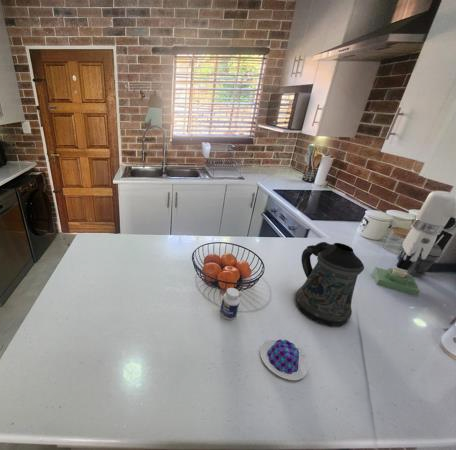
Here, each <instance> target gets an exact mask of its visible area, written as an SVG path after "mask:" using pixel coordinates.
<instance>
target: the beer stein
mask: <svg viewBox="0 0 456 450" xmlns="http://www.w3.org/2000/svg"><path fill="white" fill-rule="evenodd" d="M312 255H313V256H315V257H317V262H316V264H315V265H314V267H313V266H312V262H311V257H312ZM300 260H301V265H302V270H303V272H304V274H305V277H306V280H305V282H304V283H303V284H302V285H301V286H300V287H299V288H298V289H297V290H296V292H295V299H294V300H295V306H296V308H297V309H298V311H299V312H300V313H302V315H304V316H305V317H306V318H308V319H309V320H310V321H312V322H314V323H317V324H319V325H323V326H327V327H341V326H343V325H344V324H346V323H348V320H349V319H350V318H351V316H352V314H353V310H352V300H353V295H354V290H355V286H356V284H357V279H358V276H359V275H360V274H361V273H362V272H364V270H365V265H364V263H363V261H362V260H361V259H360V258H359V257H358V256H357V255H356V254H355V252H354V249H353V248H352V247H351V246H350V245H347V244H345V243H341V242H333V244H330V243H329V242H326V241H320V242H318V243H316V244H311V245H307V246H306V247H305V249H304V250H303V251H302V254H301V259H300Z"/></svg>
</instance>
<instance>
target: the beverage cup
mask: <svg viewBox="0 0 456 450" xmlns="http://www.w3.org/2000/svg"><path fill="white" fill-rule="evenodd" d="M444 237H445V235H444V234H442V235H441V236H440V237H439V239H438V240H437V241H435V243H434V245H433V247H432V248H431V250H430V252H429V254H428V256H427V257H426V259H424V260H423V259H421V257H420V256H419V257H418V259H417V261H416V262H413V263H412V264H411V266H410V267H409V269H408V270H406V272H407V275H409V276H411V277H413V278H417V277H418V278H419V279H420V278H422V277H423V275H425V273H426V272H428V270H429V269H430V267H432V266H433V264H434V263H435V262H436V261H437V260H438V259H439V258H440V257H441V255H442V248H441V247H440V246H439V242H440V241H441V240H442V239H443V238H444ZM418 278H417V279H418Z"/></svg>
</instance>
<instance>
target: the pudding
mask: <svg viewBox="0 0 456 450" xmlns="http://www.w3.org/2000/svg"><path fill="white" fill-rule="evenodd" d="M259 355H260V357H261V360H262V362H263V364H264V365H265V366H266V367H267V368H268V369H269V370H270V371H271V372H272V373H273V374H275V375H276V376H278V377H280V378H282V379H285V380H289V381H299V380H302V379H303V378H305V377H306V375H307V373H308V364H307V362H306V360H305V358H304V356H303V355H302V353H301V352H300V351H299V349H298V347H296V345H295V344H294V343H293V342H290V341H289V340H287V339H269V340H266V341H264V342H262V344H261V345H260V349H259Z"/></svg>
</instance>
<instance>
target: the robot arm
mask: <svg viewBox="0 0 456 450" xmlns="http://www.w3.org/2000/svg"><path fill="white" fill-rule="evenodd" d="M451 218H453V219H456V193H454V192H450V191H445V190H433V191H431V192H430V193H429V194H428V195H427V197H426V199H425V201H424V202H423V204H422V206H421V208H420V209H419V211H418V213H417V214H416V216H415V217H414V219H413V222H412V223H411V225H410V227H411V229H410V230H409V231H408V233H407V235H406V237H405V238H404V240H403V242H402V248H403V251H402V254H401V257H399V259H398V261H397V263H396V264H395V266H396V268H400V269H403V270H405V271H408V269H409V267H410V266H411V264H412V263H413V262H416V261H417V259H418V257H419V256H420V257H421V259H423V260H424V259H426V257H427V256H428V254H429V252H430V250H431V248H432V247H433V245H434V243H436V240H437V237H438V235H440V234H441V233H442V232H443V230H444V228H445V227H446V225H447V224H448V222H449V220H450V219H451Z"/></svg>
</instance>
